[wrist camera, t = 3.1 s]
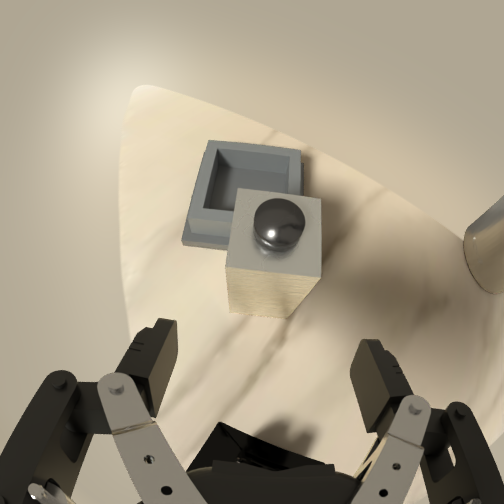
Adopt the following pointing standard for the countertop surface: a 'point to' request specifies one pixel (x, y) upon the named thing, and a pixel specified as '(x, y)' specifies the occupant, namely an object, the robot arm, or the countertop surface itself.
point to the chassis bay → (236, 186)
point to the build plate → (246, 451)
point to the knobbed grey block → (272, 252)
